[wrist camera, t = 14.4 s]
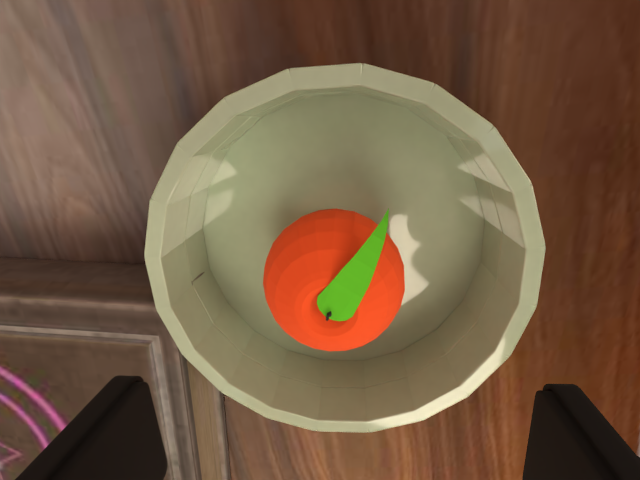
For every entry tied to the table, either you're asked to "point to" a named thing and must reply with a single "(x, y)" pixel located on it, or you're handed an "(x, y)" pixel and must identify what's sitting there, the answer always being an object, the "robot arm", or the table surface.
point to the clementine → (334, 279)
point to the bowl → (368, 200)
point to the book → (96, 362)
